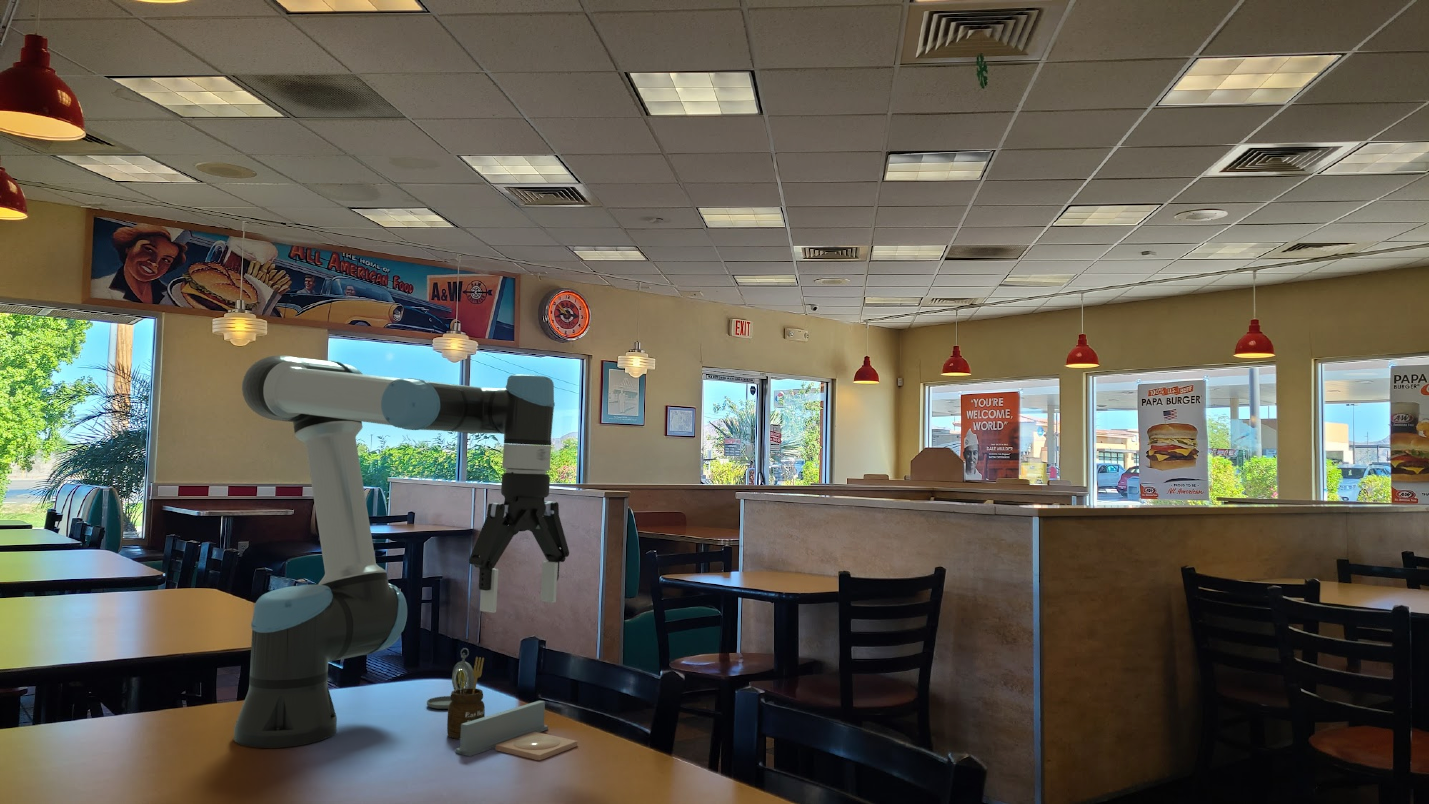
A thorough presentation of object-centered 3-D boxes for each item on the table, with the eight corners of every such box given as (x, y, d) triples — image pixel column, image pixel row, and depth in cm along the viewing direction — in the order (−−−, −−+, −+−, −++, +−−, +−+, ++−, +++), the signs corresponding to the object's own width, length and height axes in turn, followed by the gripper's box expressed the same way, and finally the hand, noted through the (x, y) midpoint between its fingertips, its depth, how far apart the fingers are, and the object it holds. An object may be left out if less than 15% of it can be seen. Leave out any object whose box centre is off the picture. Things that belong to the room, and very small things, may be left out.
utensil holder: (438, 737, 154) (442, 662, 154) (463, 727, 160) (465, 655, 160) (468, 741, 151) (471, 666, 152) (492, 732, 157) (494, 659, 158)
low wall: (455, 752, 146) (456, 723, 146) (534, 726, 161) (535, 699, 161) (469, 756, 144) (470, 726, 144) (548, 729, 159) (548, 702, 160)
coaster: (495, 750, 147) (495, 744, 147) (534, 736, 155) (534, 731, 155) (539, 760, 143) (539, 754, 143) (577, 746, 150) (577, 740, 150)
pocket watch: (420, 709, 170) (422, 653, 171) (441, 698, 179) (443, 644, 179) (462, 712, 169) (464, 655, 170) (481, 701, 177) (483, 647, 178)
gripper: (486, 472, 138) (478, 619, 136) (594, 473, 159) (587, 600, 158) (450, 470, 142) (441, 613, 140) (560, 471, 163) (553, 595, 162)
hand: (519, 606), depth 149 cm, fingers open, 13 cm apart
